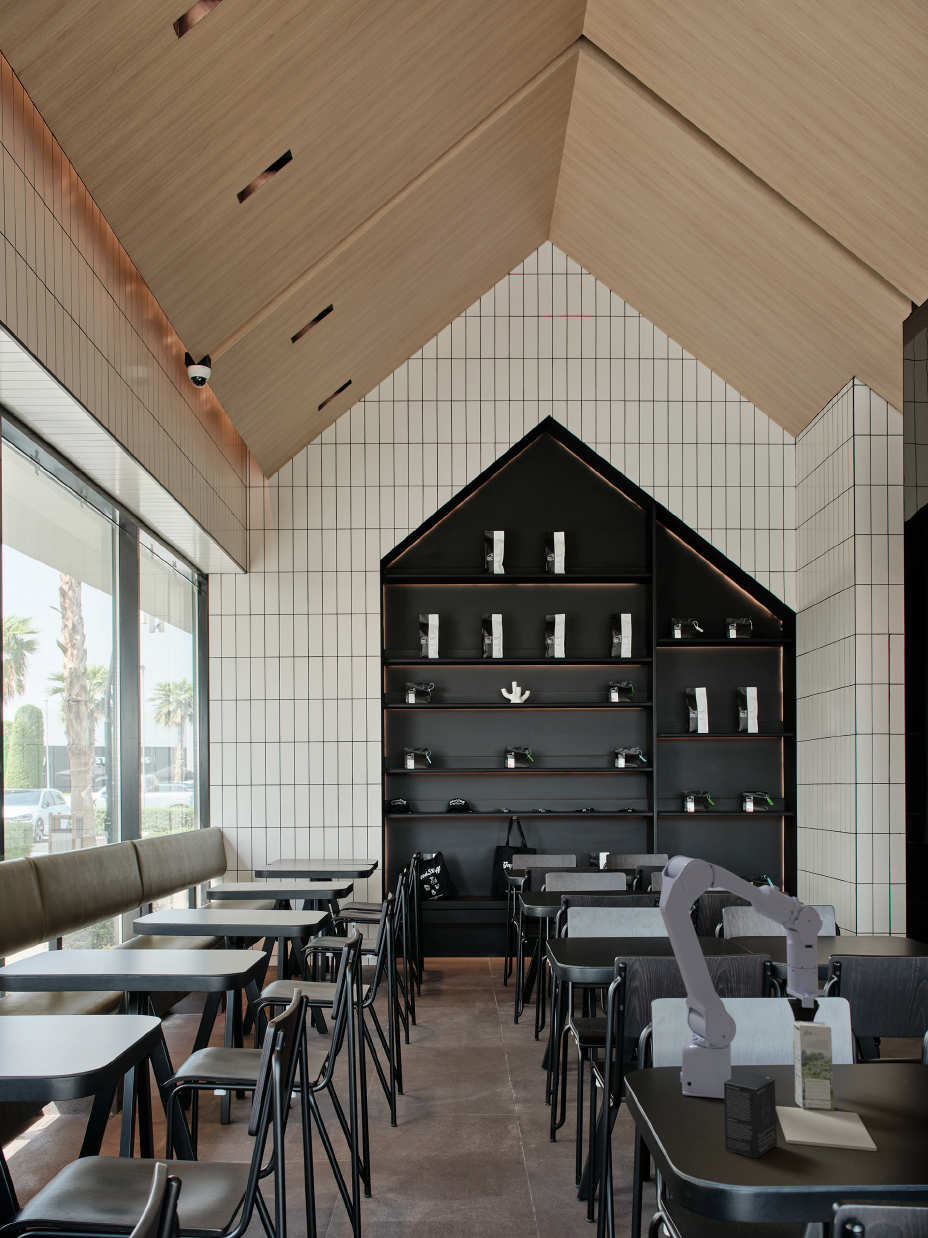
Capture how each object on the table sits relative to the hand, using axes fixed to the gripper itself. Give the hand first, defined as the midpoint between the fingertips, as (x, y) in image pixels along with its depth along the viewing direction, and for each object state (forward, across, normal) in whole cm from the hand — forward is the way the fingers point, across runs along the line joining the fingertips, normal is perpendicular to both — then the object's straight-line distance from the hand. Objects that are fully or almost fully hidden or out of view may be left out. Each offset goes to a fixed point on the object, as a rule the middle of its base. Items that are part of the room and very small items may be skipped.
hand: (804, 1038), depth 198 cm
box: (+10, -36, +13) cm, 40 cm away
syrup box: (+9, -12, 0) cm, 15 cm away
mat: (+9, -23, 0) cm, 25 cm away
